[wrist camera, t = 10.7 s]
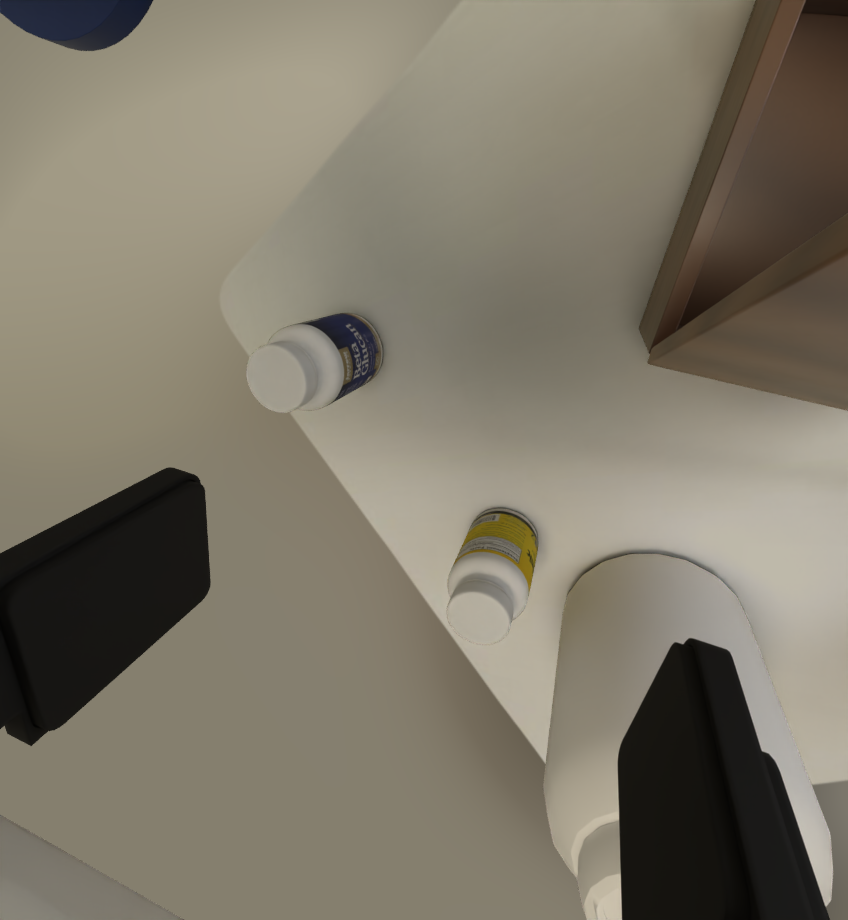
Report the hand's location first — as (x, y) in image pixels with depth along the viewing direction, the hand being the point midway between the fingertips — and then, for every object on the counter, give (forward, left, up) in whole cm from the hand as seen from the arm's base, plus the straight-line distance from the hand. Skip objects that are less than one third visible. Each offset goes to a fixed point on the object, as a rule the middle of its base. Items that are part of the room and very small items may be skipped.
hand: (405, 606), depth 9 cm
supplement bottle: (+15, +1, -26) cm, 30 cm away
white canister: (+18, +13, -26) cm, 34 cm away
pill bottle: (+3, -14, -26) cm, 30 cm away
